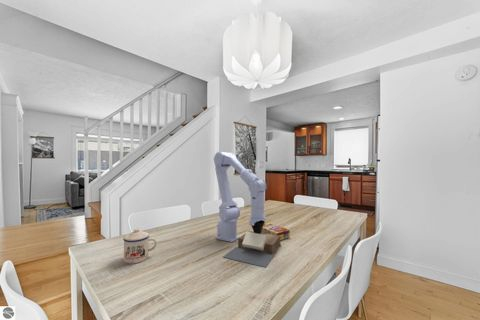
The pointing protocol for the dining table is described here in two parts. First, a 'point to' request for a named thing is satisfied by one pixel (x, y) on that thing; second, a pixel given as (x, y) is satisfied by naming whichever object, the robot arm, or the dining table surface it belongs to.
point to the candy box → (276, 230)
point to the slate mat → (249, 256)
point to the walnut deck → (270, 243)
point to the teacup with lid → (137, 246)
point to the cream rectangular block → (254, 240)
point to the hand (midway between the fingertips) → (257, 237)
